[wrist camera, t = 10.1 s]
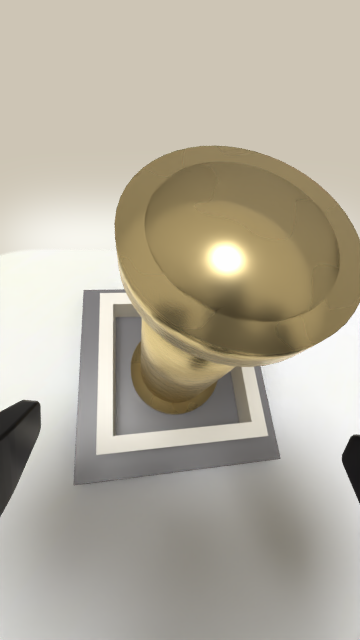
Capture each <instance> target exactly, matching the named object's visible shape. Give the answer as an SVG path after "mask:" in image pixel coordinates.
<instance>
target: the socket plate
mask: <svg viewBox="0 0 360 640" xmlns="http://www.w3.org/2000/svg"><path fill="white" fill-rule="evenodd" d="M141 328H142V317H141V316H140V315H139V313H138V312H137V311H136V309H135V308H134V307H133V305H132V303H131V301H130V299H129V298H128V296H127V294H126V291H125V290H84V295H83V315H82V334H81V353H80V372H79V392H78V411H77V430H76V449H75V468H74V485H79V484H87V483H95V482H103V481H111V480H118V479H126V478H134V477H142V476H150V475H157V474H165V473H173V472H181V471H189V470H196V469H204V468H212V467H220V466H228V465H235V464H243V463H251V462H259V461H267V460H274V459H280V454H279V450H278V445H277V441H276V436H275V431H274V427H273V422H272V418H271V413H270V408H269V404H268V399H267V395H266V390H265V385H264V381H263V376H262V372H261V367H260V366H255V367H235V368H233V369H232V370H231V371H229V372H228V373H227V374H225V375H224V376H223V377H221V378H220V379H219V380H218V381H217V384H216V387H215V389H214V391H213V393H212V395H211V396H210V397H209V399H208V400H207V401H206V402H205V403H203V404H202V405H201V406H199V407H198V408H196V409H194V410H192V411H190V412H187V413H184V414H178V415H170V414H164V413H161V412H158V411H156V410H154V409H152V408H151V407H149V406H148V405H147V404H145V403H144V402H143V401H142V400H141V398H140V397H139V396H138V394H137V393H136V391H135V389H134V386H133V383H132V378H131V360H132V356H133V353H134V351H135V349H136V347H137V345H138V344H139V342H140V341H141Z"/></svg>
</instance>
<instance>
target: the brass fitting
mask: <svg viewBox="0 0 360 640" xmlns="http://www.w3.org/2000/svg"><path fill="white" fill-rule="evenodd" d="M115 240H116V249H117V257H118V266H119V271H120V276H121V281H122V283H123V286H124V289H125V291H126V294H127V296H128V298H129V299H130V301H131V303H132V305H133V307H134V308H135V309H136V311H137V312H138V313H139V315H140V316H141V317H142V328H141V341H140V342H139V344H138V345H137V347H136V349H135V351H134V353H133V356H132V360H131V378H132V383H133V386H134V389H135V391H136V393H137V394H138V396H139V397H140V398H141V400H142V401H143V402H144V403H145V404H147V405H148V406H149V407H151V408H152V409H154V410H156V411H158V412H161V413H164V414H170V415H178V414H184V413H187V412H190V411H192V410H194V409H196V408H198V407H199V406H201V405H202V404H203V403H205V402H206V401H207V400H208V399H209V397H210V396H211V395H212V393H213V391H214V389H215V387H216V384H217V381H218V380H219V379H220V378H221V377H223V376H224V375H225V374H227V373H228V372H229V371H231V370H232V369H233V368H235V367H255V366H265V365H269V364H273V363H278V362H281V361H284V360H286V359H288V358H291V357H293V356H295V355H297V354H299V353H301V352H303V351H305V350H306V349H308V348H310V347H312V346H314V345H316V344H318V343H320V342H321V341H323V340H325V339H326V338H328V337H330V336H331V335H333V334H334V333H336V332H337V331H338V330H339V329H340V328H341V327H342V326H344V325H345V324H346V323H347V321H348V320H349V319H350V317H351V316H352V315H353V314H354V312H355V310H356V308H357V306H358V305H359V303H360V239H359V237H358V234H357V233H356V230H355V228H354V226H353V224H352V223H351V221H350V219H349V218H348V216H347V215H346V213H345V212H344V211H343V209H342V208H341V207H340V205H339V204H338V203H337V202H336V201H335V200H334V199H333V198H332V197H331V196H330V194H329V193H328V192H326V191H325V190H324V189H323V188H322V187H321V186H320V185H319V184H317V183H316V182H315V181H313V180H312V179H311V178H309V177H308V176H306V175H305V174H304V173H302V172H300V171H299V170H297V169H295V168H294V167H291V166H290V165H288V164H286V163H284V162H282V161H280V160H277V159H275V158H272V157H270V156H267V155H264V154H261V153H258V152H255V151H250V150H246V149H242V148H235V147H227V146H199V147H191V148H186V149H182V150H177V151H174V152H171V153H169V154H166V155H163V156H162V157H160V158H158V159H156V160H154V161H152V162H151V163H149V164H148V165H146V166H145V167H143V168H142V169H141V170H140V171H139V172H138V173H137V174H136V175H135V176H134V177H133V178H132V179H131V181H130V182H129V183H128V185H127V186H126V188H125V190H124V191H123V193H122V195H121V197H120V200H119V203H118V206H117V210H116V217H115Z"/></svg>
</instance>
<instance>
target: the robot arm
mask: <svg viewBox="0 0 360 640" xmlns="http://www.w3.org/2000/svg"><path fill="white" fill-rule="evenodd" d="M40 428H41V413H40V403H39V402H38V401H31V400H22V401H20V402H18V403H16V404H14V405H12V406H10V407H8V408H6V409H4V410H3V411H1V412H0V516H1V515H2V513H3V511H4V509H5V507H6V506H7V504H8V502H9V500H10V498H11V496H12V494H13V492H14V490H15V488H16V486H17V484H18V481H19V479H20V477H21V474H22V472H23V470H24V468H25V465H26V463H27V461H28V458H29V456H30V454H31V451H32V449H33V447H34V445H35V442H36V440H37V438H38V435H39V432H40ZM342 463H343V466H344V468H345V470H346V473H347V475H348V477H349V480H350V482H351V484H352V487H353V489H354V491H355V494H356V496H357V498H358V501H359V503H360V435H353V436H351V438H350V439H349V442H348V444H347V446H346V448H345V450H344V452H343V454H342Z"/></svg>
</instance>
